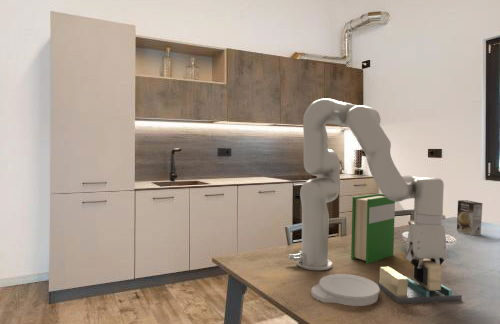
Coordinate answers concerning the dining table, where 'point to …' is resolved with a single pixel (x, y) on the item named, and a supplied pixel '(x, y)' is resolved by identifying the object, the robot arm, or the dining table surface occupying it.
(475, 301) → the dining table surface
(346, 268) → the dining table surface
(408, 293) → the rail
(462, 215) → the coffee box
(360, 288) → the lid
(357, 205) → the hardback book
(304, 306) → the dining table surface
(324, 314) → the dining table surface
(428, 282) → the light wooden block
